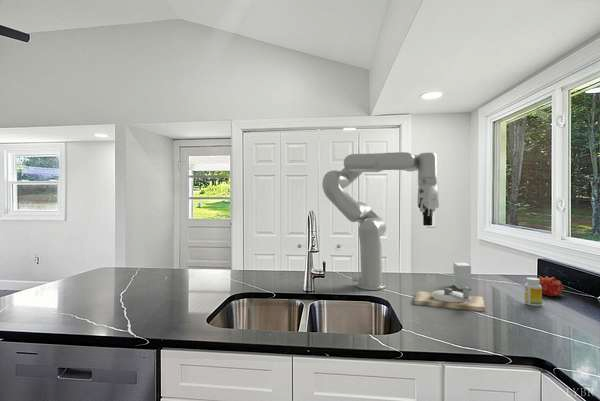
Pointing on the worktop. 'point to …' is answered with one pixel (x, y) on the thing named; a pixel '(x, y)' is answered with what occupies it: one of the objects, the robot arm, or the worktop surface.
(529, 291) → the supplement bottle
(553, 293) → the dragon fruit
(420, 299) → the stand base
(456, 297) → the dial
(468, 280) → the small box
